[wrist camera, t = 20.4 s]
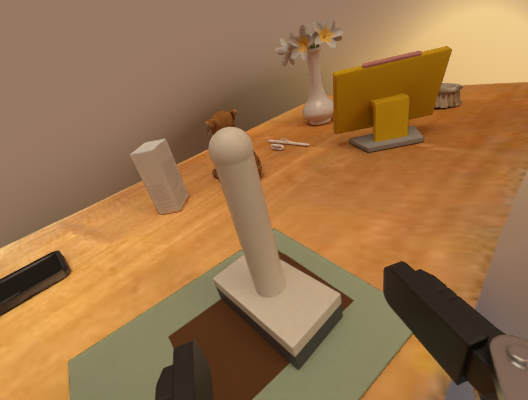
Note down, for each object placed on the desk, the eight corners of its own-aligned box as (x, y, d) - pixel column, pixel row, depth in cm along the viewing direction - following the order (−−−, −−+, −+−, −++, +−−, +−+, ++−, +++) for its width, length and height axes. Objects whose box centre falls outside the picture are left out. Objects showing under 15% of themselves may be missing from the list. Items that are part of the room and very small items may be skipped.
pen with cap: (310, 145, 63) (309, 137, 62) (299, 153, 60) (297, 144, 59) (268, 141, 72) (267, 134, 71) (257, 147, 70) (255, 139, 69)
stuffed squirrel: (249, 158, 64) (234, 102, 57) (278, 175, 52) (264, 107, 46) (210, 173, 61) (190, 116, 54) (232, 195, 49) (210, 124, 43)
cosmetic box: (169, 199, 54) (144, 142, 48) (189, 195, 53) (166, 137, 47) (158, 215, 48) (128, 154, 43) (180, 212, 48) (152, 149, 42)
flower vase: (299, 117, 88) (286, 29, 75) (356, 113, 77) (351, 10, 65) (279, 131, 79) (261, 33, 67) (340, 129, 68) (332, 13, 56)
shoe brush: (467, 101, 66) (470, 79, 64) (454, 109, 63) (457, 87, 60) (378, 101, 84) (378, 84, 82) (364, 108, 81) (363, 90, 78)
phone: (-69, 315, 35) (58, 248, 43) (-62, 320, 36) (62, 253, 44) (-80, 351, 30) (67, 267, 38) (-71, 357, 30) (72, 273, 38)
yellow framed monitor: (427, 126, 58) (435, 43, 50) (449, 137, 51) (461, 43, 43) (334, 145, 60) (328, 68, 52) (343, 157, 53) (337, 71, 45)
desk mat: (69, 363, 26) (68, 361, 26) (274, 229, 37) (274, 228, 37) (91, 737, 11) (86, 737, 10) (424, 318, 22) (424, 316, 22)
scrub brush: (220, 298, 28) (151, 137, 20) (261, 264, 31) (217, 113, 23) (298, 370, 20) (240, 156, 12) (343, 316, 23) (322, 115, 15)
